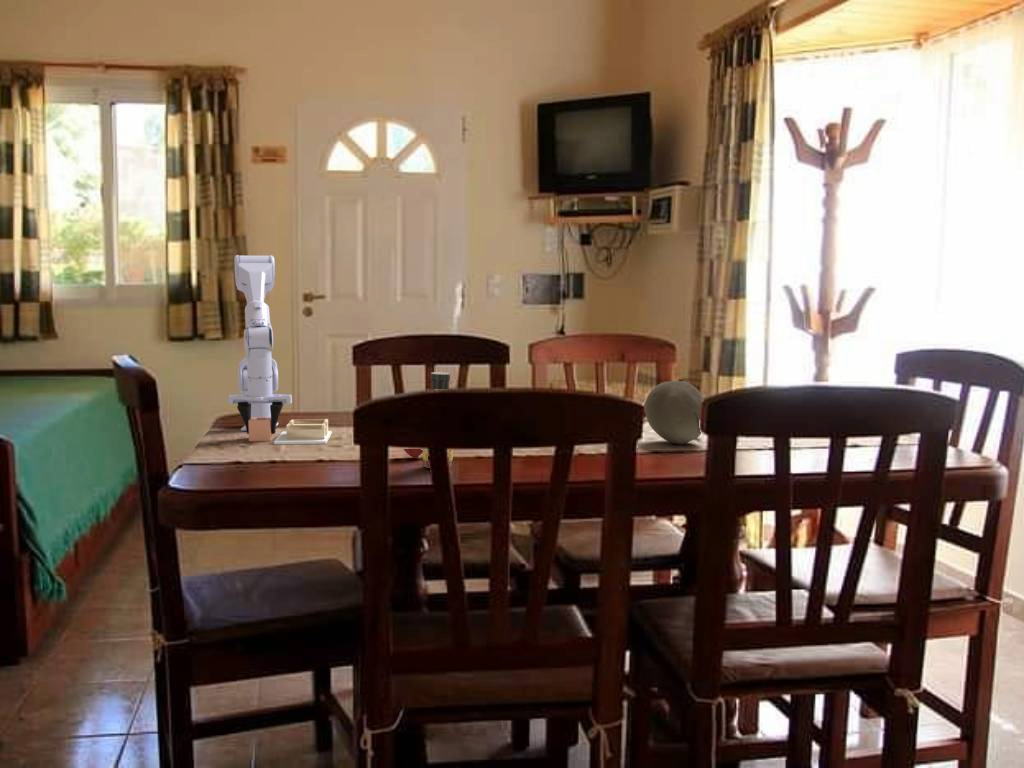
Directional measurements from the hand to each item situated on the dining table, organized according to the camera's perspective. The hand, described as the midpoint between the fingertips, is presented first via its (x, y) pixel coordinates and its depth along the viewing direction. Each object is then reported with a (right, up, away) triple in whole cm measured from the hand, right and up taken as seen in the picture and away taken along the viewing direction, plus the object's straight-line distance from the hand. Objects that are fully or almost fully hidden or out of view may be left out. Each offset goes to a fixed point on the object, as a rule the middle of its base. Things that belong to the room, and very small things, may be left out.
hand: (261, 433), depth 230 cm
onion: (+39, -5, -21) cm, 45 cm away
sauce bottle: (+45, -6, -31) cm, 55 cm away
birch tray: (+11, -1, +1) cm, 11 cm away
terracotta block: (0, -1, 0) cm, 1 cm away
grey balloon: (+99, -3, -3) cm, 99 cm away
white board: (+10, -1, +1) cm, 10 cm away
